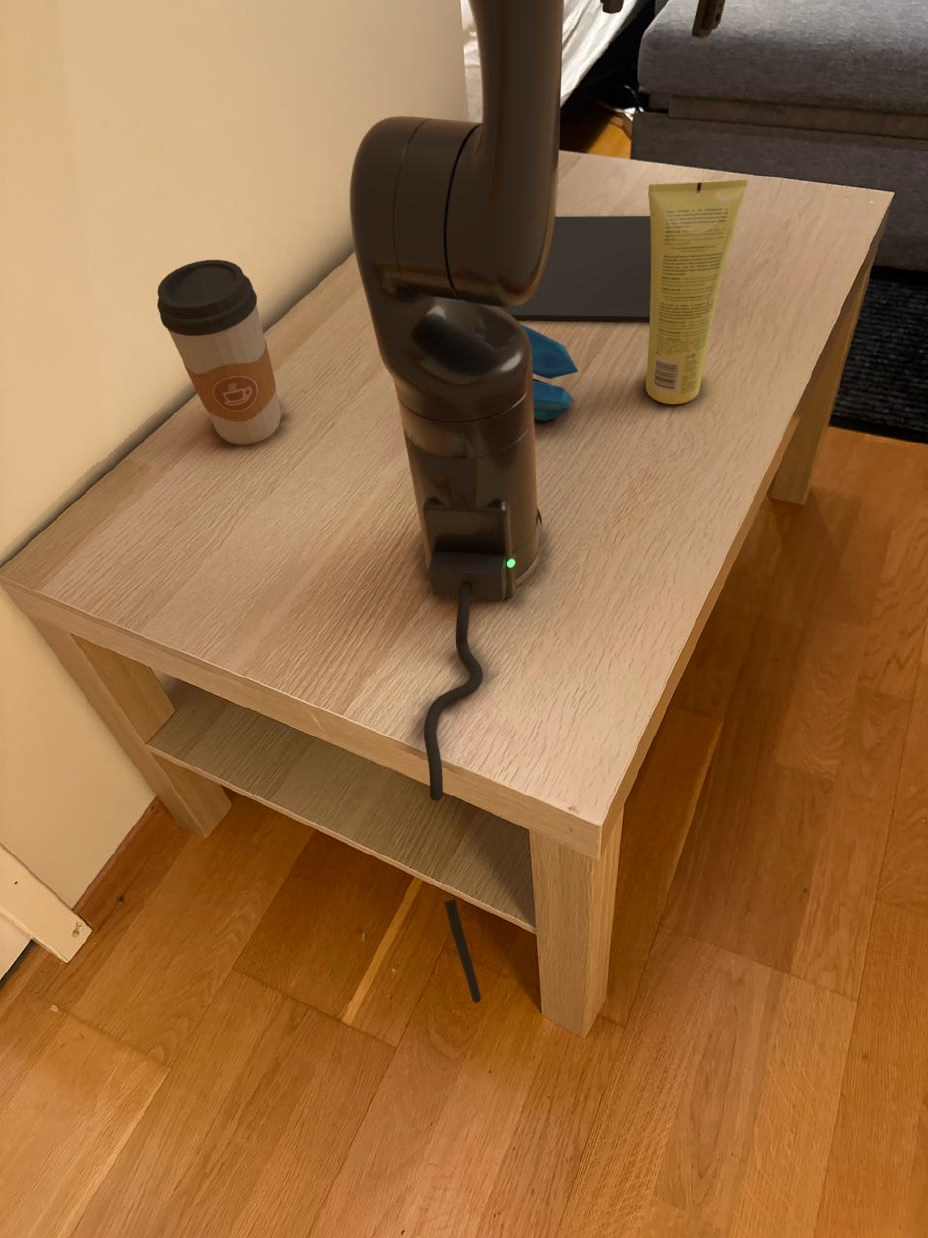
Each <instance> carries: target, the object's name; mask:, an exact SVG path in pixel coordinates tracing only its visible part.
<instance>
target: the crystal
mask: <svg viewBox="0 0 928 1238" xmlns="http://www.w3.org/2000/svg"><path fill="white" fill-rule="evenodd" d="M520 324H521V325H522V327H523V328H524V329H525V331H526V333H527V335H528V337H529V340H530V343H531V348H532V360H533V375H536V376H537V377H538V376H539V377H542V378H544V379H547V380H548V379H549V380H552V379H555V378H560V377H564V376H568V375H572V374H576V373H578V372H579V370H578V368H577V366H576V365H575V363H574V361H573V359H572V357H571V355H570V353H569V351H568V350H567V348H566V346H565V345H564V344H562V343H560V342H558V341H556V340H554V339H552V338H550V337H548V336H546V335H544V334H542V333H541V332H538V331H537V330H534V329H532V328H530V327H528V326H526V325H525V324H523V323H520ZM533 394H534V420H538V421H542V422H549V421H550V420H552V419H554V418H556V417H559V416H560V415H563V414H564V413H566V412H568V411H570V410H571V408H570V406H569V405H571V404H572V403H573V402H575V400H574V398H573V397H572V396H571V395H570V394H569V392H568V391H567V390H566V389H565V388H564V387H562V386H557V385H553V384H551V383H547V382H545V381H542V380H540V379H536V378H534V377H533Z"/></svg>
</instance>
